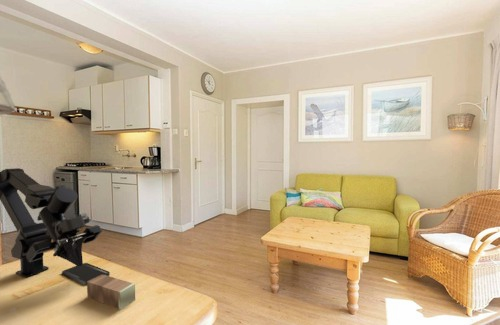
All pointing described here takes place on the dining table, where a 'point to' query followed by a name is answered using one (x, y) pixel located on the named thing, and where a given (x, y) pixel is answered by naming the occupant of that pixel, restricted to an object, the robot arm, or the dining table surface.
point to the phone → (84, 273)
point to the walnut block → (111, 291)
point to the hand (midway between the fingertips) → (80, 265)
